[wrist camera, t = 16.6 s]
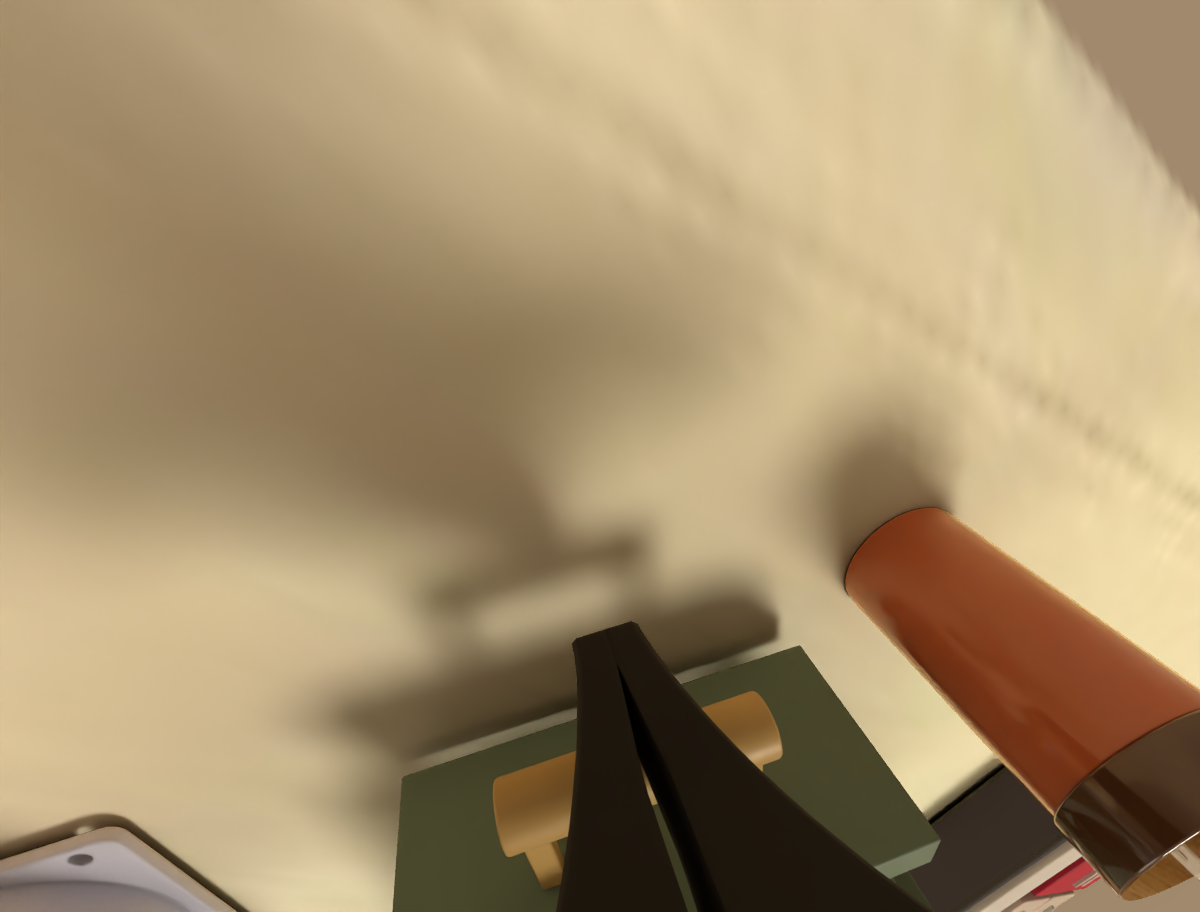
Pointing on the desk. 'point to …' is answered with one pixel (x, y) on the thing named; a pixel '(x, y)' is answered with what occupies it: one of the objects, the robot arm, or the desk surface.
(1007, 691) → the spice jar
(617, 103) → the desk surface
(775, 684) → the drawer
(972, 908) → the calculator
